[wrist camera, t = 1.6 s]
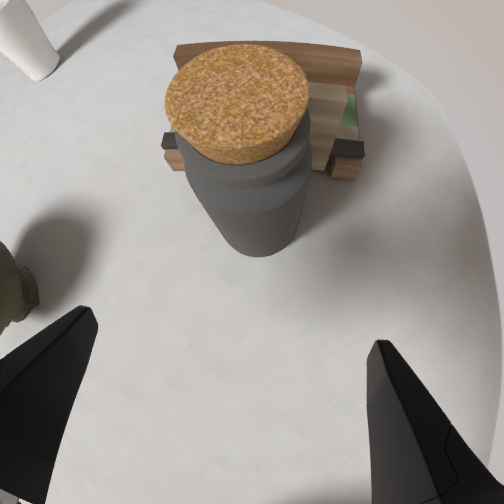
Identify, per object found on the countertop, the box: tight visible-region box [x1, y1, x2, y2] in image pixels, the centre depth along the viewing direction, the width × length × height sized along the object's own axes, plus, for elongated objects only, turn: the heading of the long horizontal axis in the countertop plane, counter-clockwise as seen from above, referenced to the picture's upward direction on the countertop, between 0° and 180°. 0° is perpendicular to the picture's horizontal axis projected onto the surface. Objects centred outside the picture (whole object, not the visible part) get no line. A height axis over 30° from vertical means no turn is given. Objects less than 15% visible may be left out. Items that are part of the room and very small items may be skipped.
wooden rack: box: [164, 41, 362, 181], centre depth 22 cm, size 10×15×6 cm, turn 85°
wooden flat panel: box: [161, 82, 365, 171], centre depth 19 cm, size 1×15×9 cm, turn 86°
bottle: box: [165, 44, 313, 257], centre depth 16 cm, size 6×6×15 cm
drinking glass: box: [0, 0, 60, 81], centre depth 23 cm, size 7×7×15 cm
